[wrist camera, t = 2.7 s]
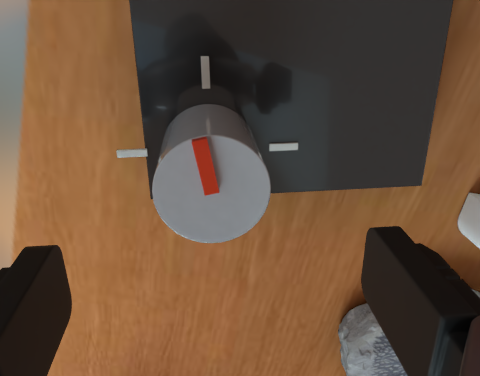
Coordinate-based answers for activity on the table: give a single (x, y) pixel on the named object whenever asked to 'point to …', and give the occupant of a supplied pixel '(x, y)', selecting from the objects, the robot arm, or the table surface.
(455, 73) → the table surface
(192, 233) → the hob knob
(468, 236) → the slotted bracket
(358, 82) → the knob base
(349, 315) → the fossil
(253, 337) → the table surface
